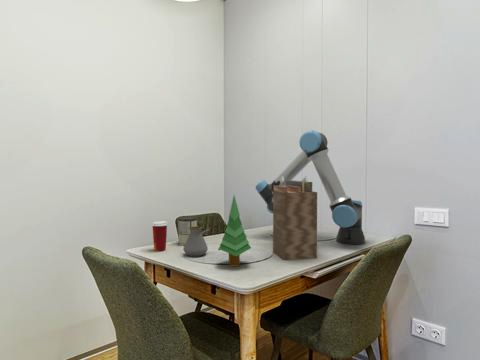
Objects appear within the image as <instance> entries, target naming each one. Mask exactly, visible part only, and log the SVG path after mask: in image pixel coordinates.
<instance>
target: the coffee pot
mask: <svg viewBox="0 0 480 360" xmlns="http://www.w3.org/2000/svg"><path fill="white" fill-rule="evenodd" d="M222 224H224V225H226V222H225V220H222V221H219V222H218V223H216V224H214V225H212V226H211V227H208V228H207V229H205V230H203V231H202V229H203V226H197V227H189V229H190V234H189V236H188V239H187V241H186V244H185V246H183V249H182V250H183V252H184V253H185V254H186V255H187V256H188V257H192V256H197V257H201V255H202V256H204V255H205V254H206V253H207V251H208V249H209V248H208V245H207V243H206V241H205V238H204V236H203V235H204V234H206V233H207V232H208V231H210V230H213V229H215V228H217V227H218V226H220V225H222ZM203 254H204V255H203Z"/></svg>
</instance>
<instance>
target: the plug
mask: <svg viewBox="0 0 480 360" xmlns="http://www.w3.org/2000/svg"><path fill="white" fill-rule="evenodd" d="M286 185H290V186H298V187H301V192H312V191H313V182H312V181H308V182H305V181H302V180H293V179H292V180H291V181H286Z"/></svg>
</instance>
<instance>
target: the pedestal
mask: <svg viewBox="0 0 480 360" xmlns="http://www.w3.org/2000/svg"><path fill="white" fill-rule="evenodd" d="M272 215H273V216H272V222H273V223H272V226H273V227H272V253H273V254H274V255H276V256H277V257H279V258H281V260H282V261H290V260H304V259H316V258H318V250H317V249H318V192H317V191H313V190H312V192H301V187H298V186H290V185H286V186H285V187H284V186H274V191H273V213H272Z"/></svg>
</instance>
